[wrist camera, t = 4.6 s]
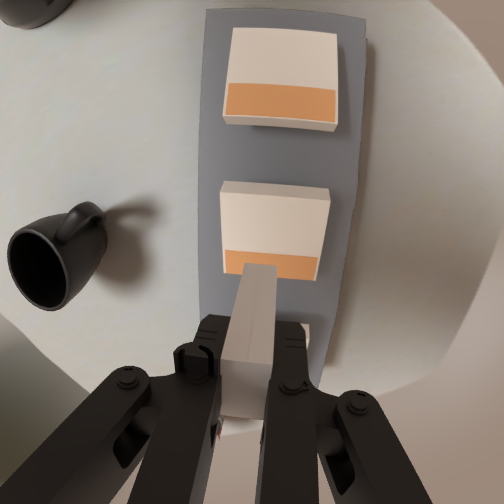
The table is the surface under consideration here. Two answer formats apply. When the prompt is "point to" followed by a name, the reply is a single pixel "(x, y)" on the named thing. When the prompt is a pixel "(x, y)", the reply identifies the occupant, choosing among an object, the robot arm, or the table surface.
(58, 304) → the mug
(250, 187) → the switch
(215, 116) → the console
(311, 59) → the switch
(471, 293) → the table surface
